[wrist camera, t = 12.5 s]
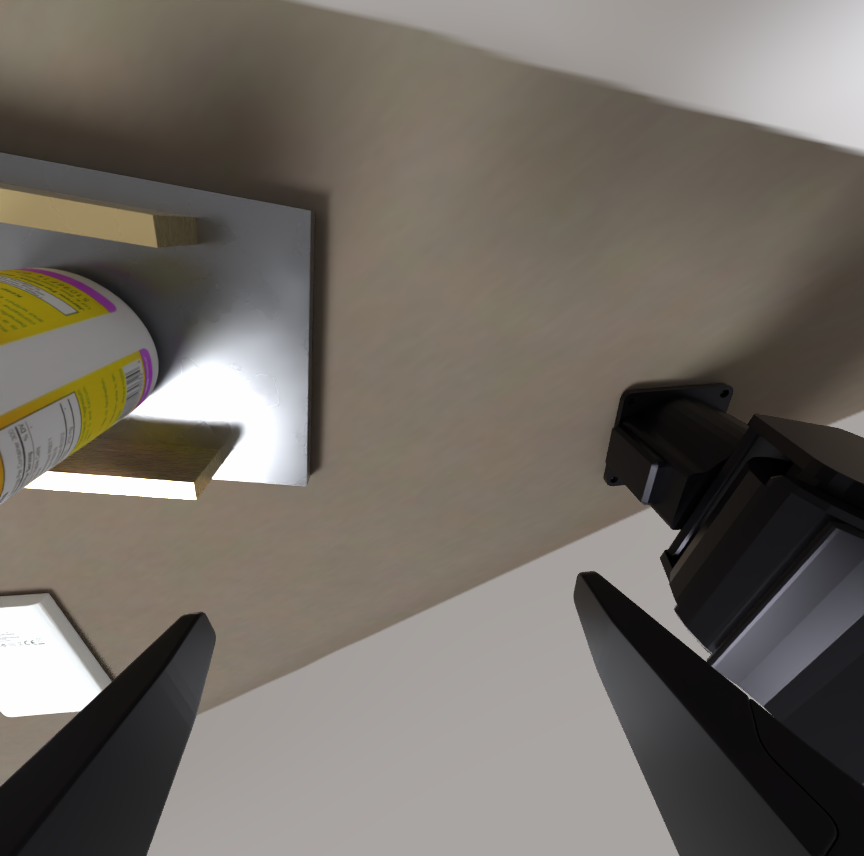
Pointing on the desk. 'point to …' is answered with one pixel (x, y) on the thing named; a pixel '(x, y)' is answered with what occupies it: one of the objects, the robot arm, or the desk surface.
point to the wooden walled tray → (181, 322)
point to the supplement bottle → (64, 369)
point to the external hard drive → (43, 659)
